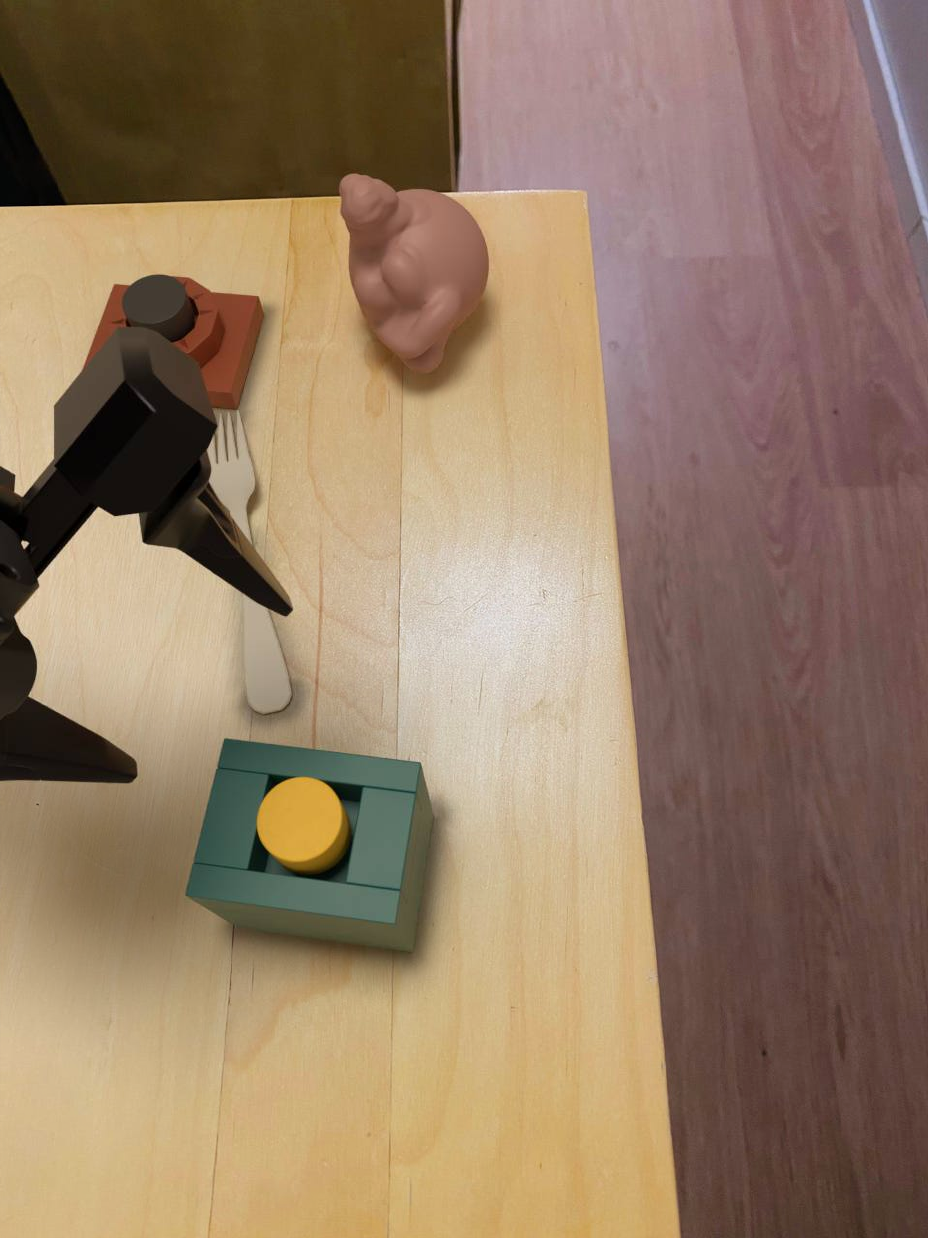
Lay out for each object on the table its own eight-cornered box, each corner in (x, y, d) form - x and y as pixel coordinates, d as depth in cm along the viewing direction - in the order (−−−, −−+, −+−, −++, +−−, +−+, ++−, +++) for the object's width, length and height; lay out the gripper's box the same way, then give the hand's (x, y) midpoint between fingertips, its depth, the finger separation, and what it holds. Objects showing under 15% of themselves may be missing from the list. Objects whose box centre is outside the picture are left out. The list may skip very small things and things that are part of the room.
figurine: (359, 399, 64) (331, 259, 53) (357, 269, 69) (330, 116, 58) (496, 389, 64) (496, 247, 53) (484, 260, 69) (482, 105, 58)
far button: (124, 343, 63) (113, 320, 61) (142, 294, 64) (131, 271, 62) (186, 348, 62) (176, 325, 60) (201, 299, 64) (193, 276, 62)
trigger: (262, 869, 43) (247, 855, 41) (280, 789, 45) (266, 771, 42) (343, 880, 43) (333, 867, 40) (358, 799, 45) (349, 781, 42)
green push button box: (238, 928, 50) (184, 896, 42) (268, 793, 53) (223, 737, 45) (413, 952, 50) (395, 925, 41) (434, 814, 52) (421, 762, 44)
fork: (256, 727, 57) (246, 716, 55) (203, 418, 64) (191, 394, 61) (304, 716, 57) (297, 704, 55) (246, 409, 64) (237, 385, 61)
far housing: (88, 395, 65) (67, 360, 62) (122, 301, 68) (104, 263, 65) (237, 409, 64) (223, 374, 61) (264, 313, 67) (252, 275, 64)
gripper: (-519, 894, 24) (63, 1028, 33) (-82, 303, 20) (443, 647, 29) (-369, 630, 32) (61, 796, 42) (-41, 178, 28) (355, 475, 38)
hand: (209, 692), depth 37 cm, fingers open, 9 cm apart
